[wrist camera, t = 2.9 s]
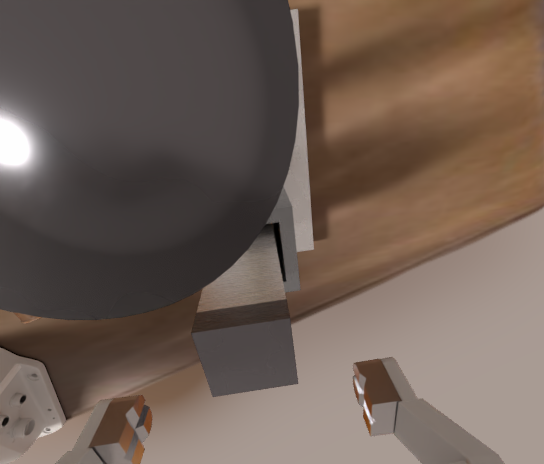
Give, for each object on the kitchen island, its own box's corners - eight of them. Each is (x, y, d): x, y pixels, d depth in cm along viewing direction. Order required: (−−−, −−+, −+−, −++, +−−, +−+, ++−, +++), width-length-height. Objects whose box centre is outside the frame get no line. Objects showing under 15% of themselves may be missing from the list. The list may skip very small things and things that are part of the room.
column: (270, 220, 31) (300, 384, 12) (234, 225, 31) (211, 398, 12) (265, 185, 29) (292, 316, 11) (226, 190, 29) (188, 331, 11)
